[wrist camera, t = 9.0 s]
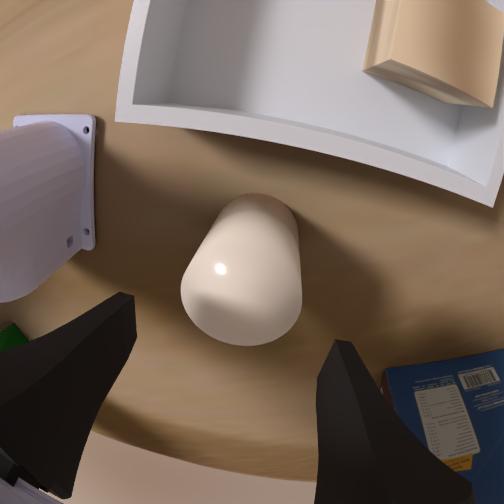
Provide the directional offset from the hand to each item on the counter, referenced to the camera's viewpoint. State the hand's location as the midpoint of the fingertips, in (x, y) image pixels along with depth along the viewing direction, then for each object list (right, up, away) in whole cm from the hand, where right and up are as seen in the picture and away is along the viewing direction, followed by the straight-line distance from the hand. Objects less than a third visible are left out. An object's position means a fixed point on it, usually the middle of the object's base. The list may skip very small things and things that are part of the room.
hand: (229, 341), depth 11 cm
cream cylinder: (+1, +4, +8) cm, 9 cm away
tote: (+5, +15, +2) cm, 16 cm away
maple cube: (+9, +14, +2) cm, 17 cm away
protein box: (+20, -10, +13) cm, 26 cm away
